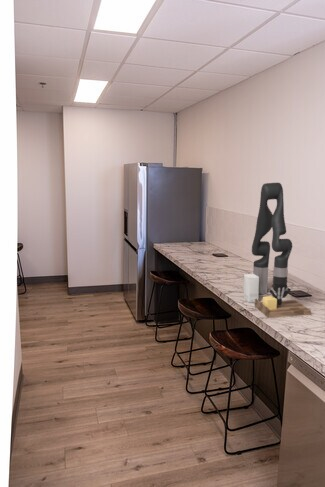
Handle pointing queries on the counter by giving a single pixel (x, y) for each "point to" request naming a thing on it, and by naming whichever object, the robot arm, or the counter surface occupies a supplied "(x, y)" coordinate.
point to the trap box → (283, 309)
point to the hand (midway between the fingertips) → (278, 304)
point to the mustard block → (270, 302)
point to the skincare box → (251, 287)
